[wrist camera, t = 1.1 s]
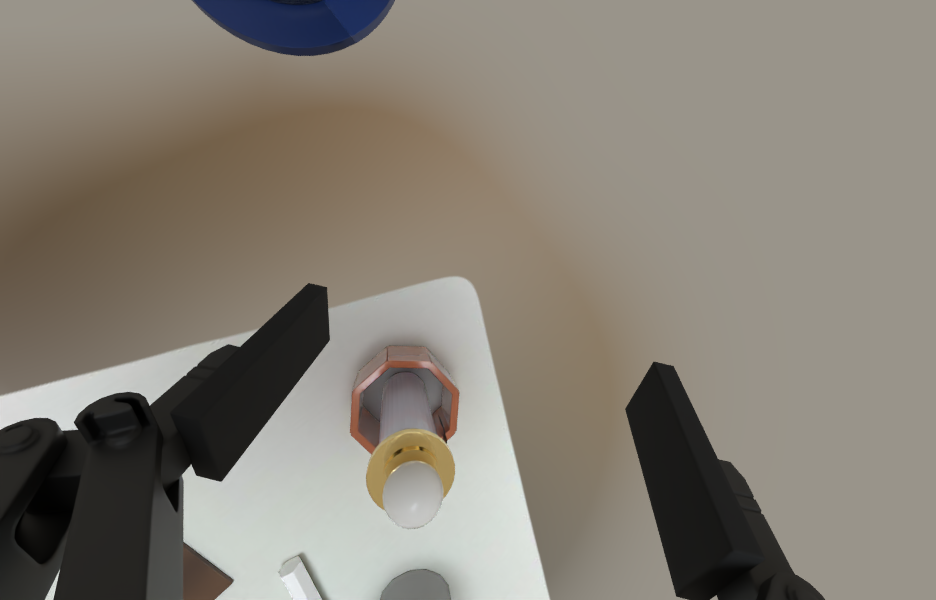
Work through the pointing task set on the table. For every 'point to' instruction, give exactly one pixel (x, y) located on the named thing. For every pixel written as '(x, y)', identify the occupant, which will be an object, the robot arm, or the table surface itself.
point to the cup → (417, 587)
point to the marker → (298, 580)
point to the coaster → (201, 577)
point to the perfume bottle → (409, 456)
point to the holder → (362, 420)
